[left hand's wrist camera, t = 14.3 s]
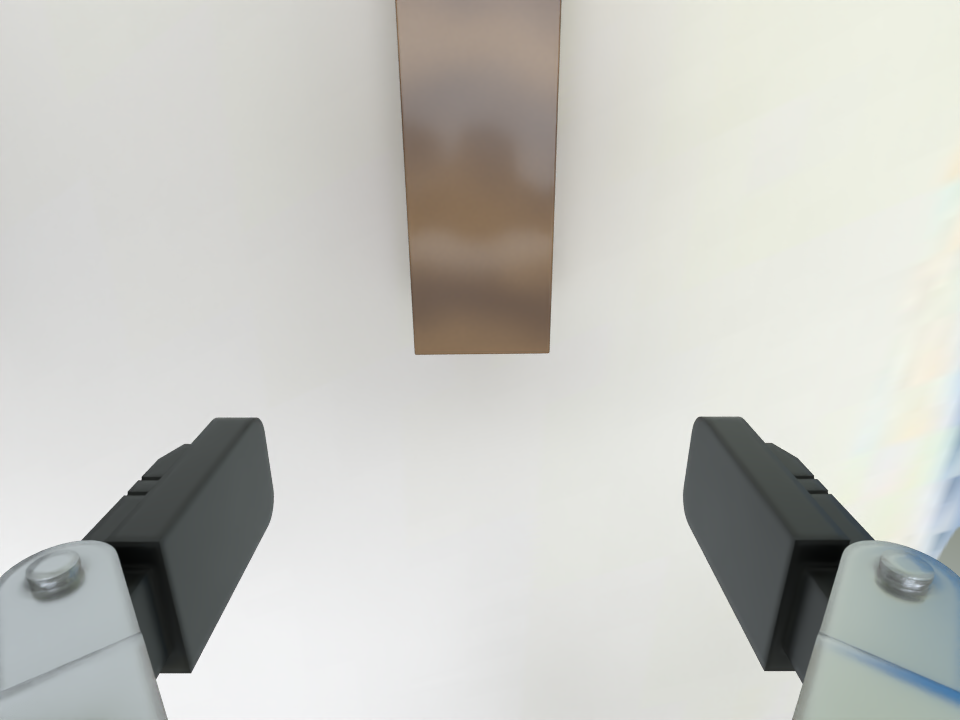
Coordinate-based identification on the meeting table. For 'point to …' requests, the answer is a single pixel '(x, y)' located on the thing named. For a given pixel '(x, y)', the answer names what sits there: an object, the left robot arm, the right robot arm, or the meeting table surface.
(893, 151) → the meeting table surface
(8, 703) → the left robot arm
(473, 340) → the box
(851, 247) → the meeting table surface
